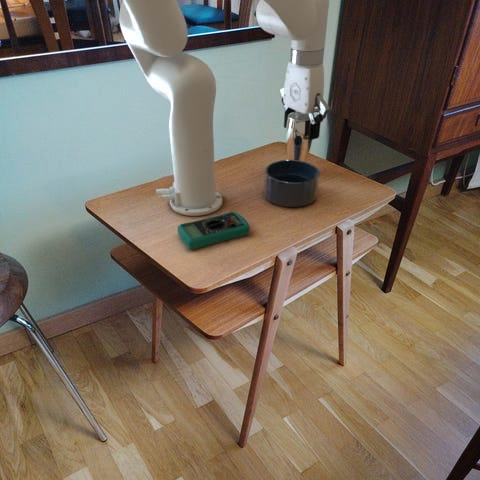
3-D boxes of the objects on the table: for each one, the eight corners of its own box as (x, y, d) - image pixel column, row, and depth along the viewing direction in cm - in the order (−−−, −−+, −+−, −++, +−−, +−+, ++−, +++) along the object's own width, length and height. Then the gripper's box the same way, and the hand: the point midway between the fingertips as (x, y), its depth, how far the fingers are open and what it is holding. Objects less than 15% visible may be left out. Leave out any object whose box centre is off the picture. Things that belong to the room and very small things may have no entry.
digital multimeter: (252, 235, 98) (252, 223, 96) (189, 252, 93) (188, 240, 91) (237, 220, 103) (237, 208, 101) (176, 235, 98) (175, 223, 96)
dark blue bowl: (271, 211, 106) (272, 185, 102) (258, 186, 116) (259, 162, 111) (323, 206, 108) (326, 180, 104) (307, 182, 117) (309, 158, 113)
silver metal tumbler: (296, 166, 125) (301, 109, 115) (313, 174, 121) (321, 116, 111) (277, 172, 122) (281, 115, 111) (295, 181, 118) (300, 123, 107)
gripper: (271, 51, 106) (269, 125, 118) (319, 68, 95) (311, 147, 107) (296, 47, 109) (291, 119, 121) (345, 62, 98) (335, 140, 110)
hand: (301, 132), depth 114 cm, fingers open, 9 cm apart
